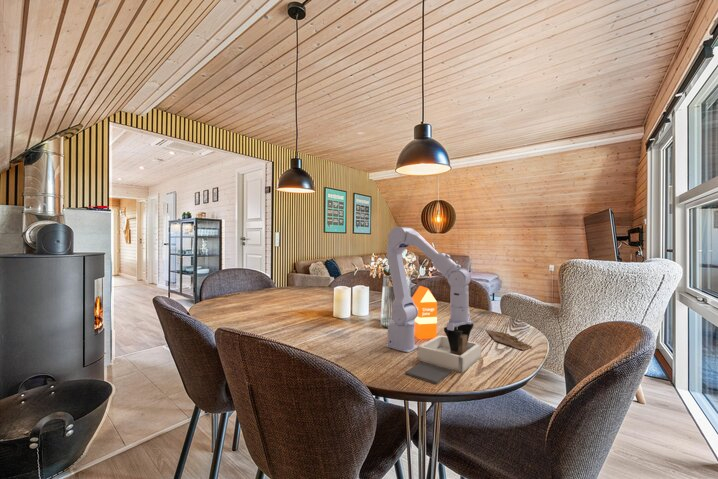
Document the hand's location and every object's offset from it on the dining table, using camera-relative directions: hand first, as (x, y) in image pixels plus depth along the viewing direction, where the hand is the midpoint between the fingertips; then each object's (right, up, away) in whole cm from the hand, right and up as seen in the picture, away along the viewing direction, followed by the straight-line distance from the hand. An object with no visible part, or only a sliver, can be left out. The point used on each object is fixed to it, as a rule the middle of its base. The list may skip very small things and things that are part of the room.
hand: (459, 347), depth 104 cm
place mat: (-12, -4, -10) cm, 16 cm away
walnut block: (0, -2, 0) cm, 2 cm away
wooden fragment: (+26, -5, +23) cm, 35 cm away
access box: (-2, -4, +2) cm, 5 cm away
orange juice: (-6, -4, +27) cm, 28 cm away
